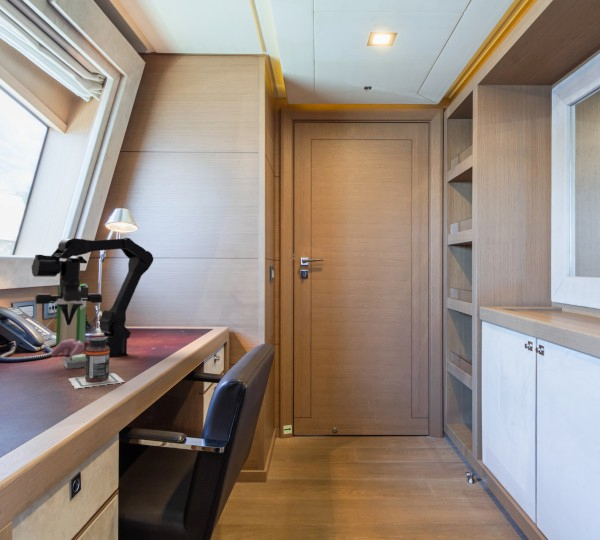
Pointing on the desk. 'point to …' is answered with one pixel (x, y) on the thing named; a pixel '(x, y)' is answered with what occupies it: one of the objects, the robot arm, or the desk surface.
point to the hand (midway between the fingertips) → (68, 325)
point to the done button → (79, 357)
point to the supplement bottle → (97, 360)
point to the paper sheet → (82, 383)
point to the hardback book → (77, 324)
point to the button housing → (72, 363)
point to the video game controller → (68, 344)
